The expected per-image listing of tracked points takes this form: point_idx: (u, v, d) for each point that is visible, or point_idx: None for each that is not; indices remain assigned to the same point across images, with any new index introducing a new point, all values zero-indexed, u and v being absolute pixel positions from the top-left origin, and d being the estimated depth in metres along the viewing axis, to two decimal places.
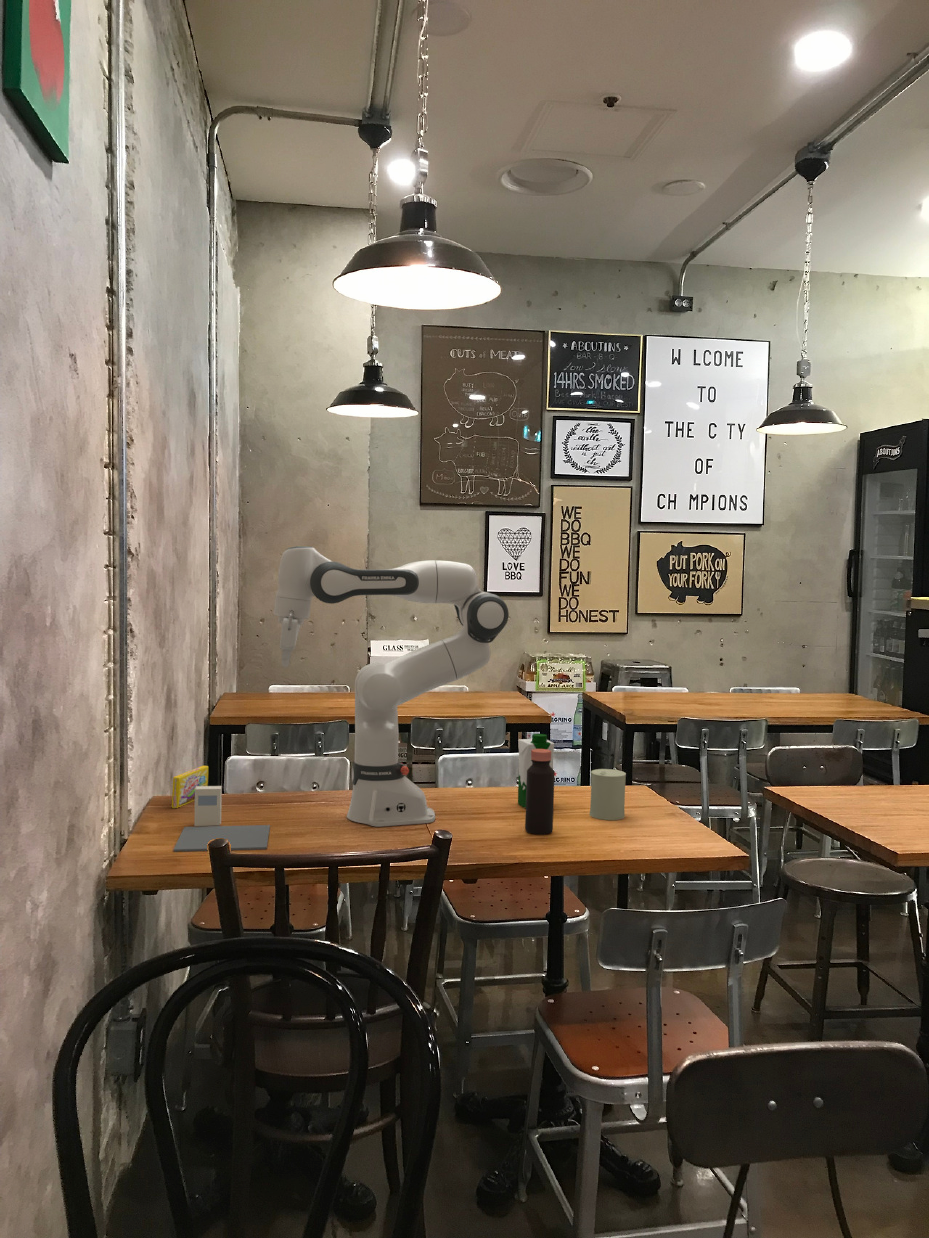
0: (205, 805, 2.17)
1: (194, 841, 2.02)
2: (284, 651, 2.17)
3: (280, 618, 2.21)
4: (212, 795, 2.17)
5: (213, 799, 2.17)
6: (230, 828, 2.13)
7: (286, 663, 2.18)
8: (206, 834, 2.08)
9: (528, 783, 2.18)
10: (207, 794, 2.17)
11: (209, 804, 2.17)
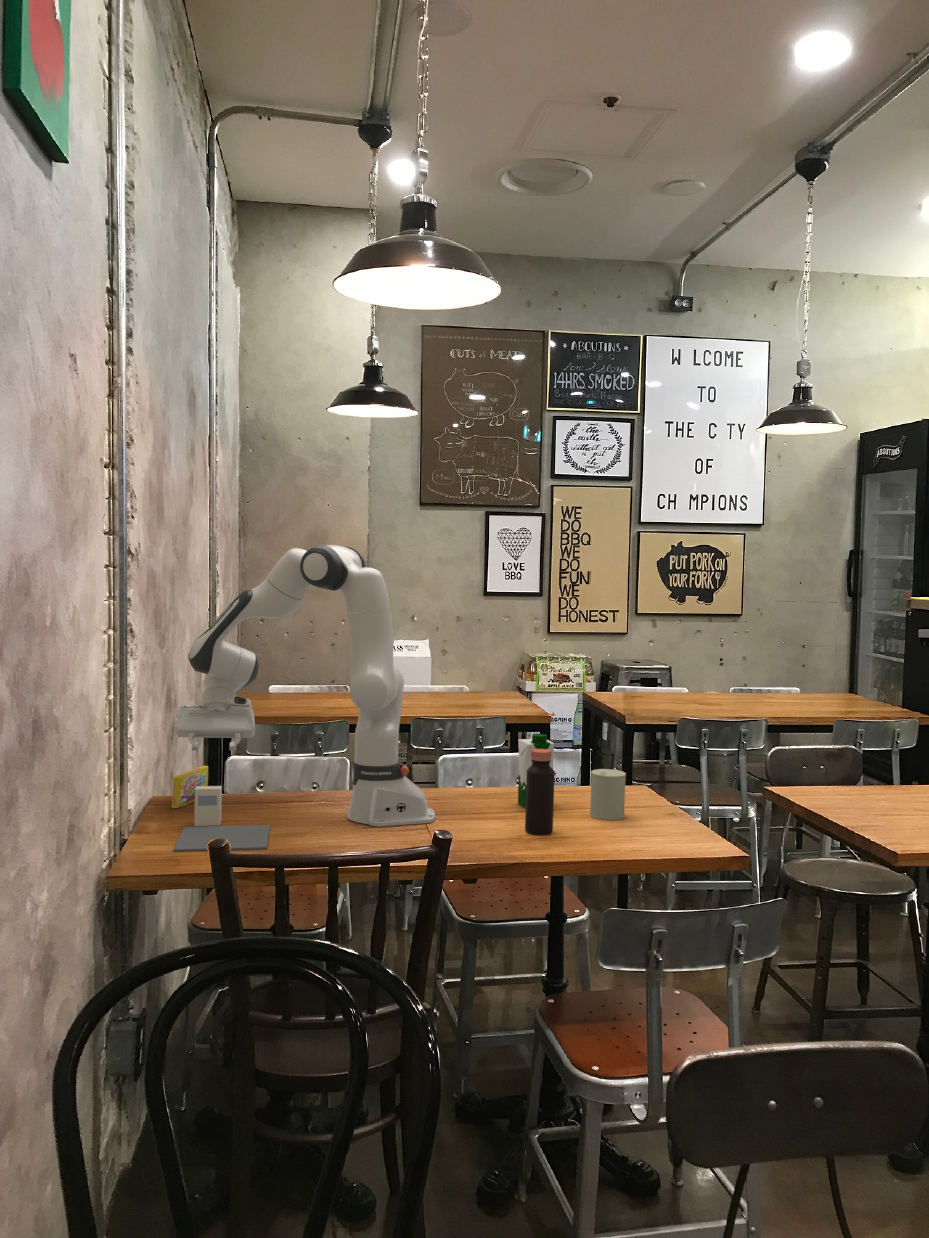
0: (205, 805, 2.17)
1: (194, 841, 2.02)
2: (189, 737, 2.32)
3: None
4: (212, 795, 2.17)
5: (213, 799, 2.17)
6: (230, 828, 2.13)
7: None
8: (206, 834, 2.08)
9: (528, 783, 2.18)
10: (207, 794, 2.17)
11: (209, 804, 2.17)
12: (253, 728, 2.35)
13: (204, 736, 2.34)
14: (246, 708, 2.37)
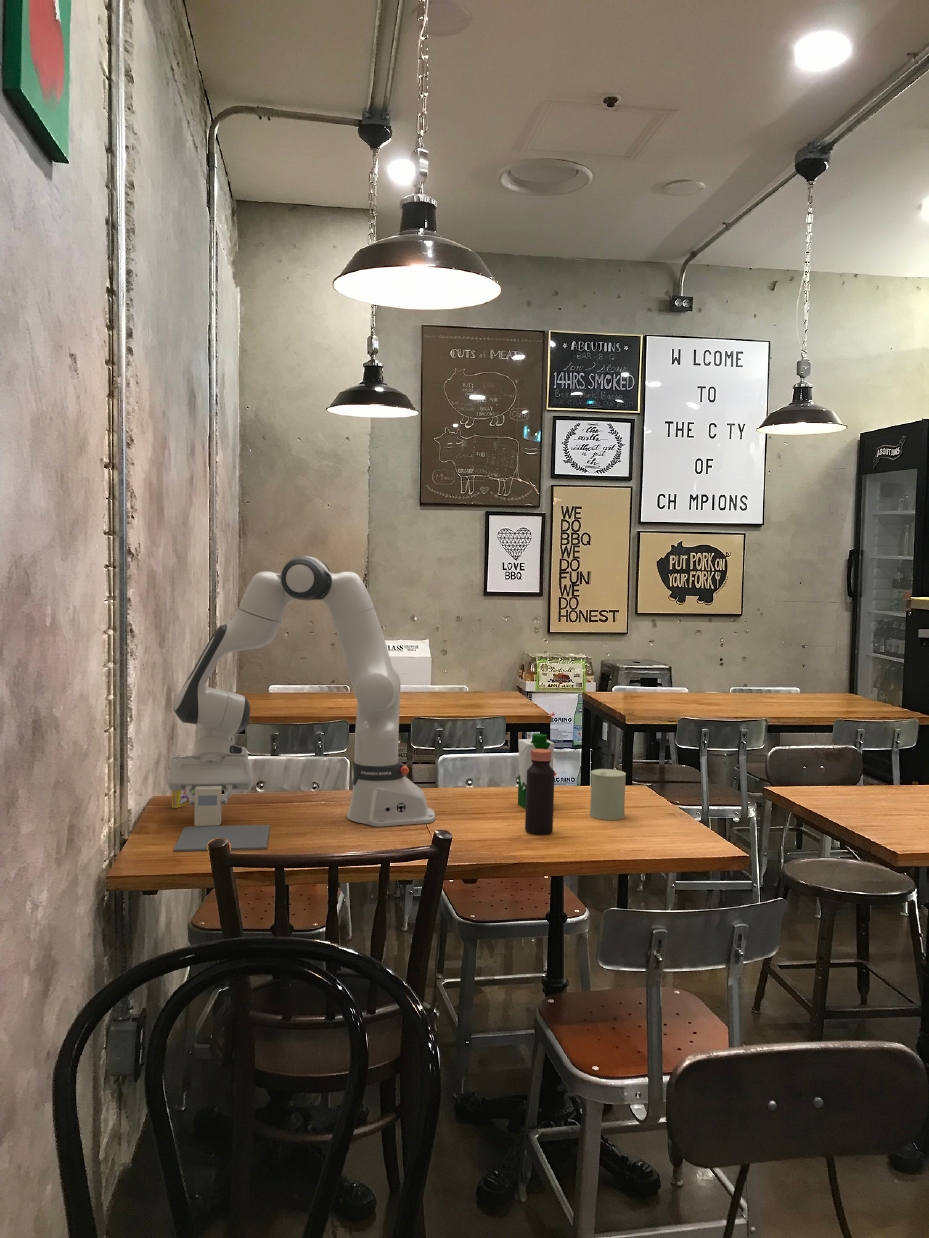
0: (205, 805, 2.17)
1: (194, 841, 2.02)
2: (186, 791, 2.20)
3: None
4: (212, 795, 2.17)
5: (213, 799, 2.17)
6: (230, 828, 2.13)
7: (189, 799, 2.18)
8: (206, 834, 2.08)
9: (528, 783, 2.18)
10: (207, 794, 2.17)
11: (209, 804, 2.17)
12: (250, 779, 2.22)
13: None
14: (242, 758, 2.25)
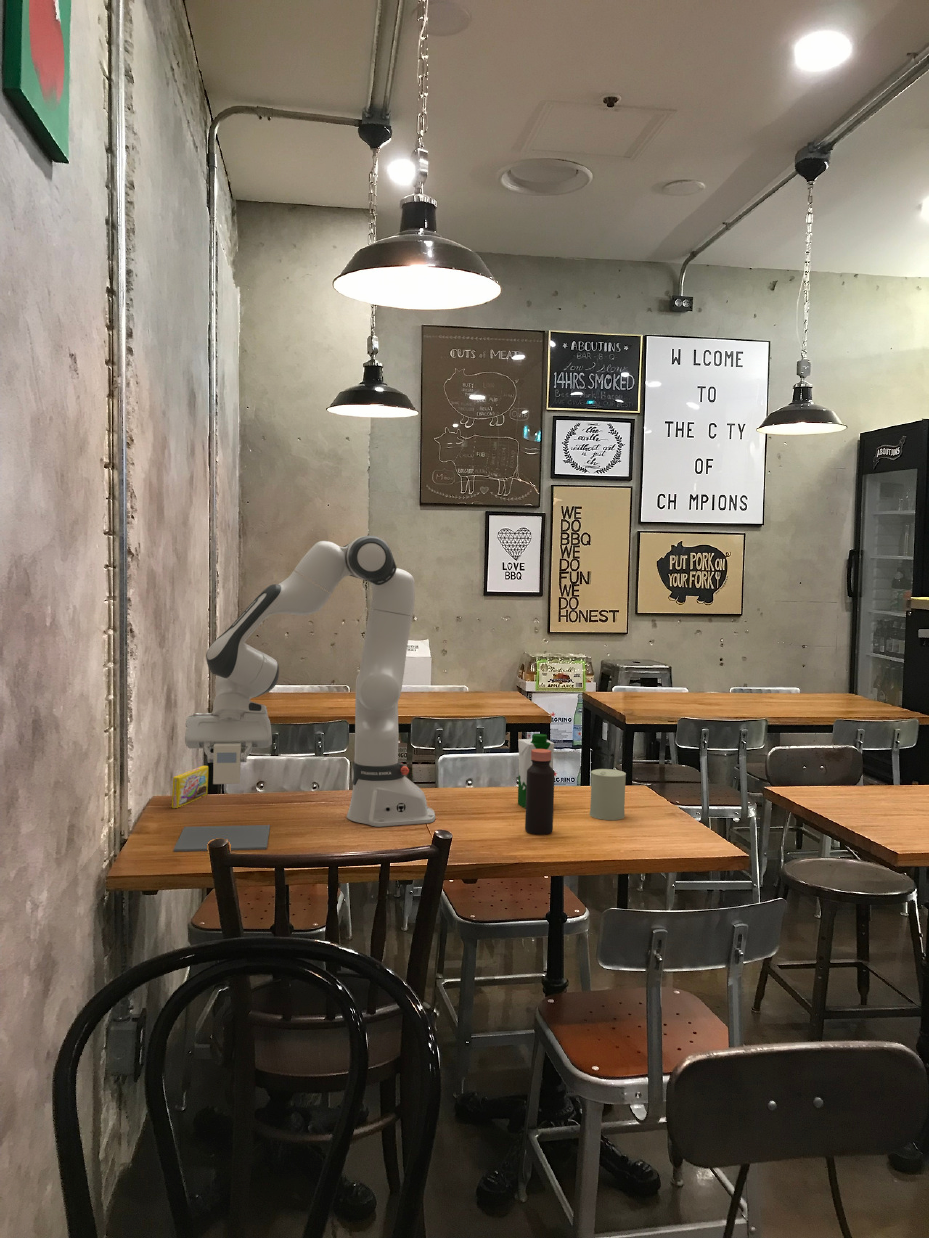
0: (224, 763, 2.10)
1: (194, 841, 2.02)
2: (204, 748, 2.13)
3: None
4: (231, 752, 2.10)
5: (232, 756, 2.10)
6: (230, 828, 2.13)
7: (207, 757, 2.10)
8: (206, 834, 2.08)
9: (528, 783, 2.18)
10: (226, 751, 2.09)
11: (228, 761, 2.10)
12: (270, 737, 2.15)
13: None
14: (262, 715, 2.17)
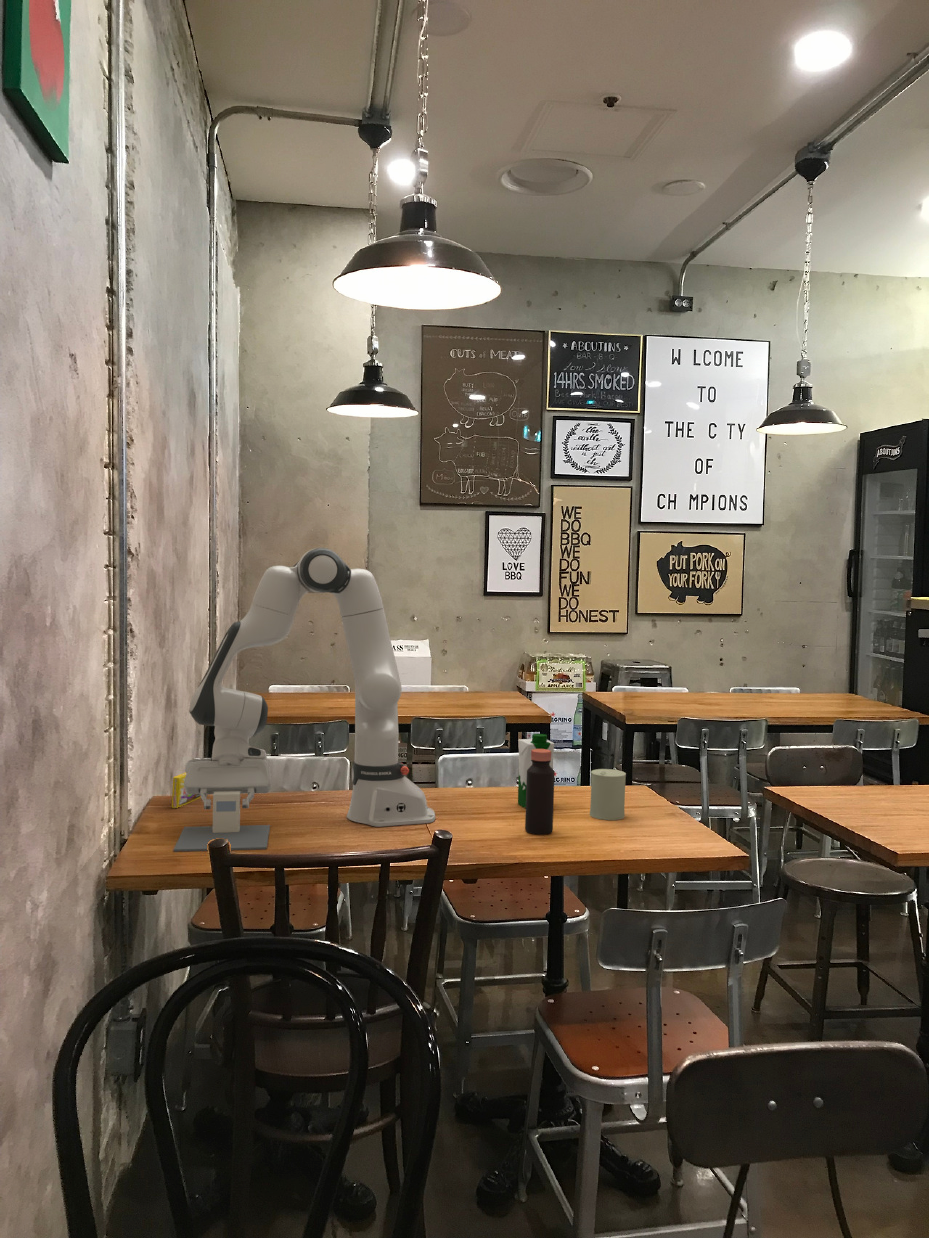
0: (224, 811, 2.10)
1: (194, 841, 2.02)
2: (200, 794, 2.13)
3: None
4: (231, 801, 2.10)
5: (232, 805, 2.10)
6: None
7: (204, 803, 2.10)
8: (206, 834, 2.08)
9: (528, 783, 2.18)
10: (226, 800, 2.10)
11: (228, 810, 2.10)
12: (269, 783, 2.15)
13: None
14: (261, 760, 2.18)
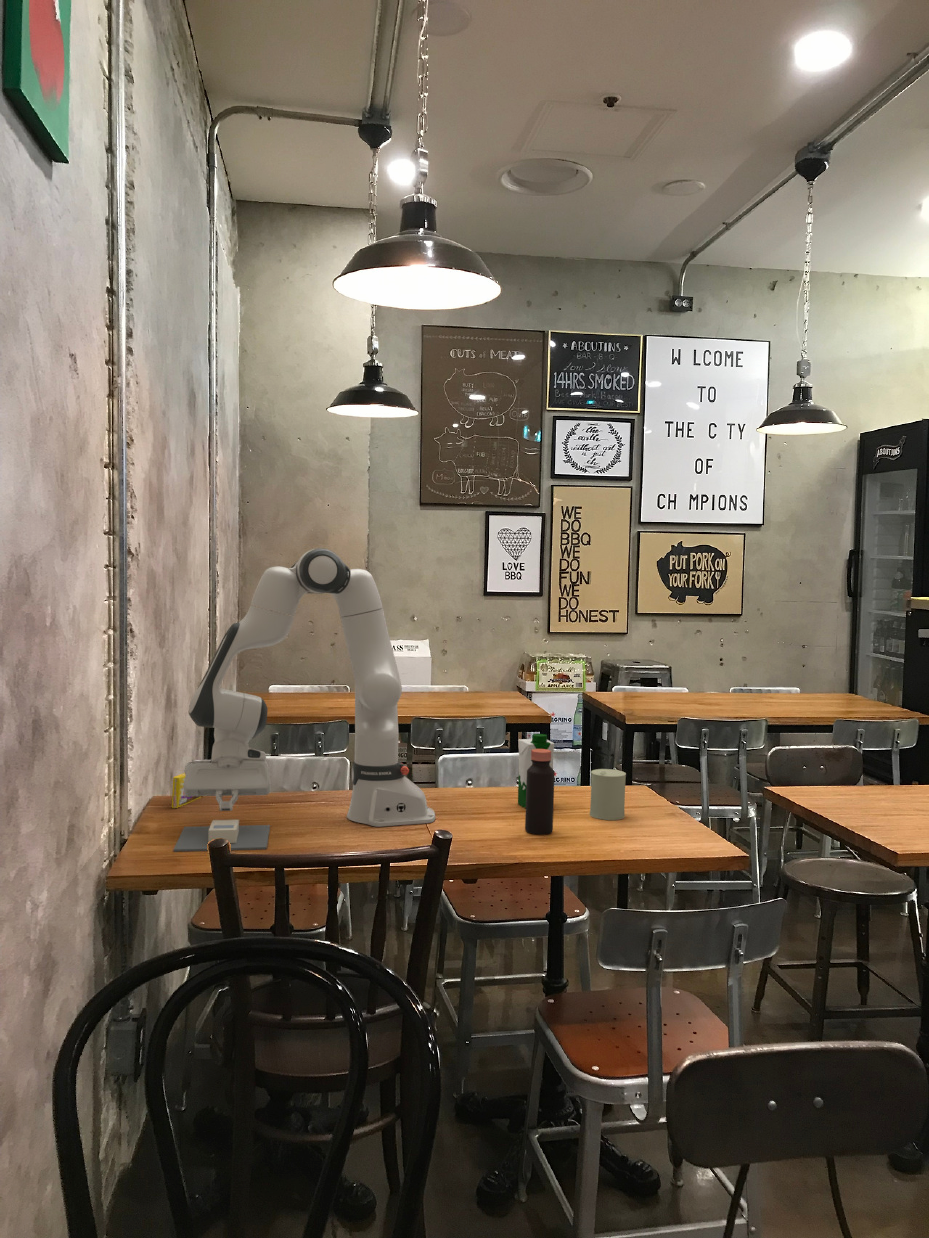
0: None
1: (194, 841, 2.02)
2: None
3: None
4: None
5: None
6: None
7: None
8: (206, 834, 2.08)
9: (528, 783, 2.18)
10: None
11: None
12: (269, 785, 2.14)
13: (215, 794, 2.14)
14: (260, 762, 2.17)
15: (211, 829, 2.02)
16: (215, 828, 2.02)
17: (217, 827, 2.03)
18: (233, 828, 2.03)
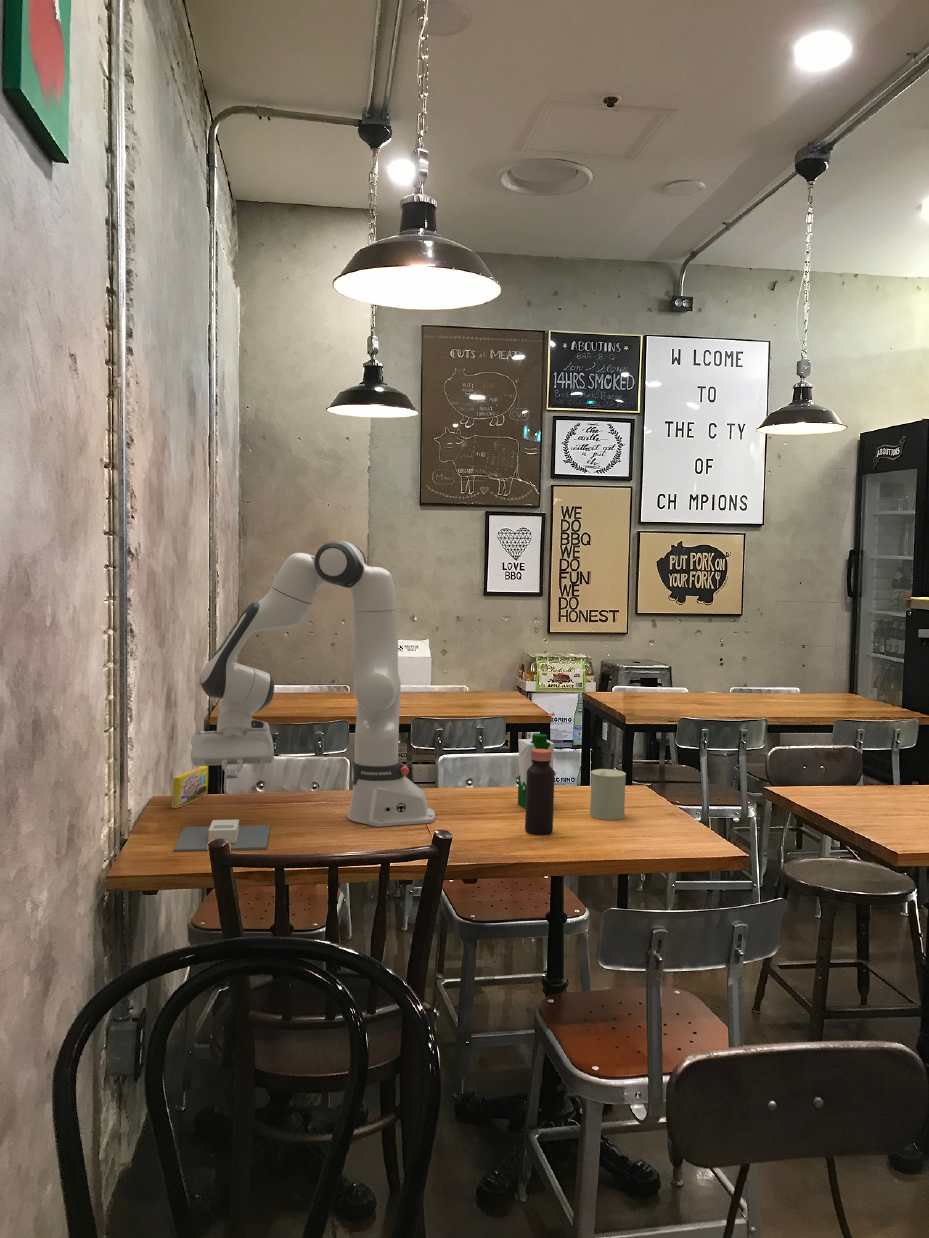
0: None
1: (194, 841, 2.02)
2: None
3: None
4: None
5: None
6: None
7: None
8: (206, 834, 2.08)
9: (528, 783, 2.18)
10: None
11: None
12: (272, 753, 2.24)
13: (221, 763, 2.23)
14: (264, 732, 2.26)
15: (211, 829, 2.02)
16: (215, 828, 2.02)
17: (217, 827, 2.03)
18: (233, 828, 2.03)
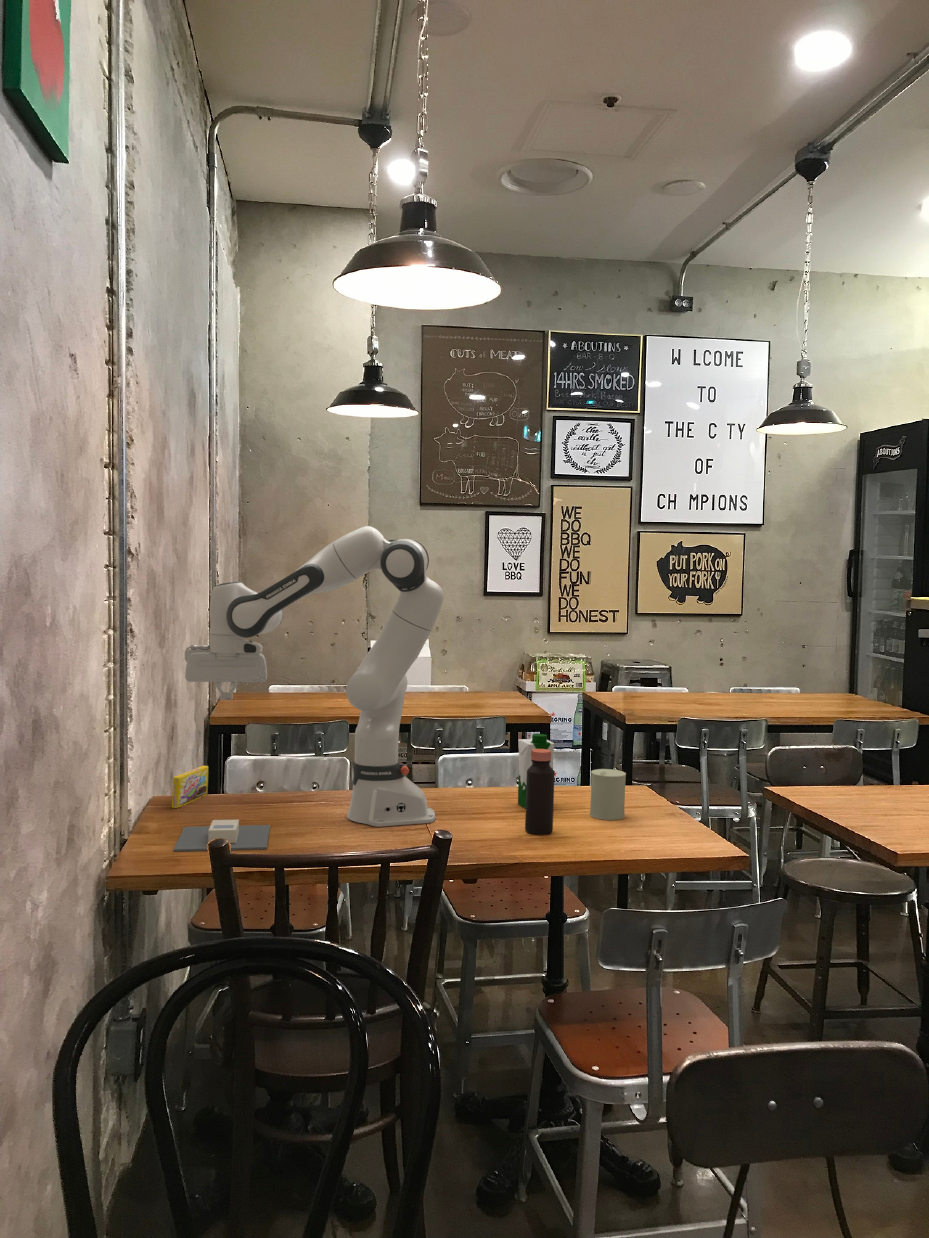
0: None
1: (194, 841, 2.02)
2: None
3: None
4: None
5: None
6: None
7: None
8: (206, 834, 2.08)
9: (528, 783, 2.18)
10: None
11: None
12: (265, 678, 2.29)
13: None
14: (257, 656, 2.27)
15: (211, 829, 2.02)
16: (215, 828, 2.02)
17: (217, 827, 2.03)
18: (233, 828, 2.03)
